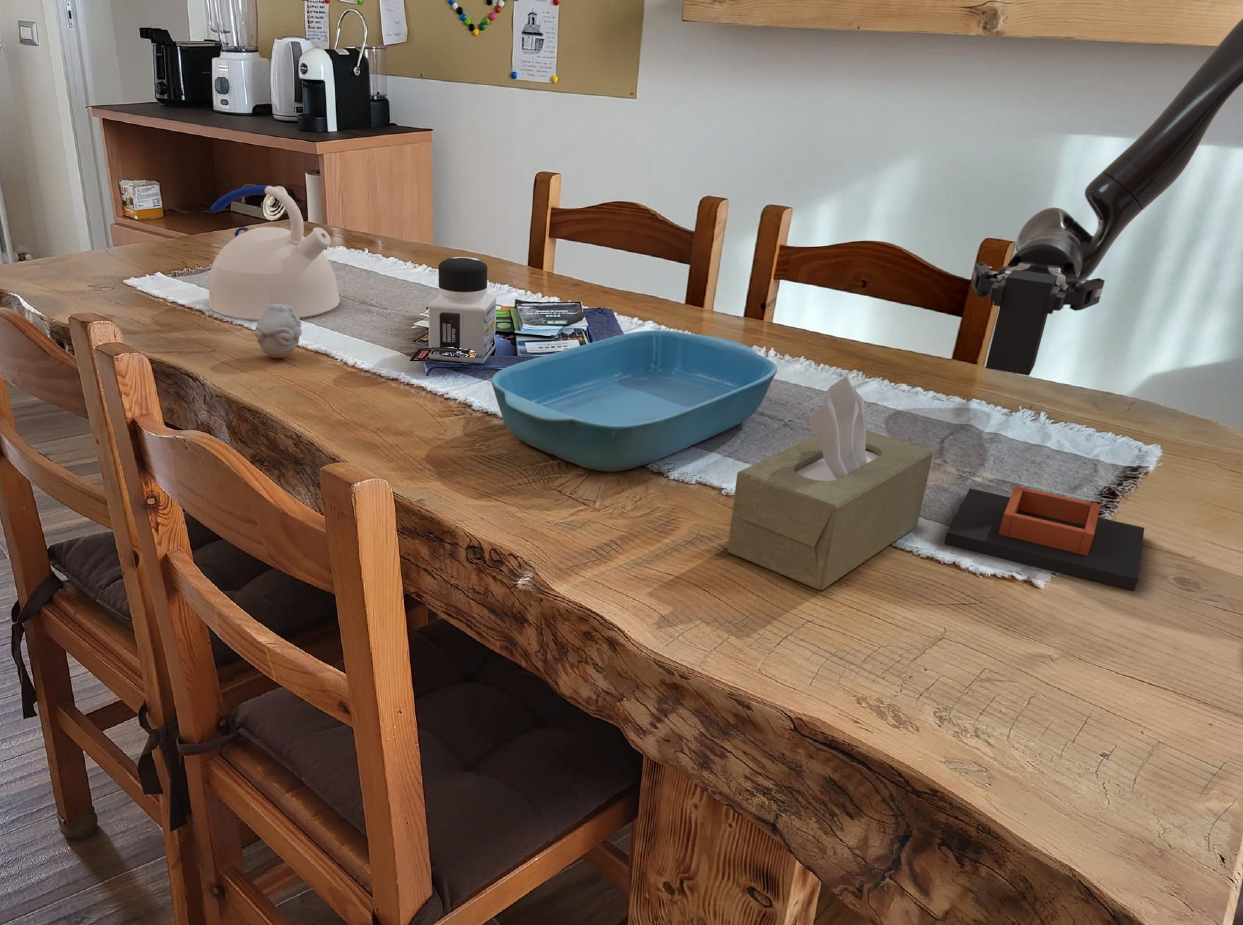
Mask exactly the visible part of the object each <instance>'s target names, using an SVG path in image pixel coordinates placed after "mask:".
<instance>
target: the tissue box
mask: <svg viewBox="0 0 1243 925" xmlns="http://www.w3.org/2000/svg"><path fill="white" fill-rule="evenodd" d="M824 399H825V401H826V402H825V403H824V404H822V405H821V406H820V407H819V408H817V409H816V410H815V411H813V412H811V413H810V414H808V415H807V416H806V419H807V423H808V425H809V427H810V429H811V431H812V432H813V434H814V435H813V436H810V437H809V438H806V439H804V440H802V441H799V442H798V443H796V444H793V445H791V446H789V447H787V448H785V449H783V450H781V451H779V452H777V453H775V454H772V455H771V456H768V457H766V458H765V459H763V460H760V461H758V462H756V463H754V464H752V465H749V466H748V467H746V468H744V469H741V470H740V471H738V472H737V474H736V480H735V489H734V495H733V504H732V510H731V511H732V512H731V519H730V527H729V534H728V542H727V552H728V553H729V554H731V555H733V556H736V557H738V558H741V559H742V560H743V559H744V560H745V561H748V562H750V563H753V564H755V565H758V566H760V567H762V568H765V569H766V570H770V571H772V572H774V573H777V574H779V575H781V576H784V577H786V578H788V579H791V580H793V581H797V582H799V583H801V584H803V585H806V586H808V587H810V588H813V589H815V590H818V591H823V590H824V589H826V588H827V587H829V586H831V585H832V584H833V583H834V582H837V581H838V580H839V579H841V578H842V577H844V576H845V575H848V573H849V572H851V571H852V570H854V569H856V568H857V567H858V566H860V565H861V564H863V563H864V562H866V561H867V560H869V559H870V558H872V557H873V556H875V555H876V554H878V553H879V552H881V551H882V550H884V549H885V548H887V547H888V546H890V545H891V544H893V543H894V542H895V541H897V540H899V539H900V538H901V537H903V536H904V535H906V534H907V533H909V532H910V531H912V530H914V529H915V528H916V527H917V526H918V523H919V519H920V514H921V510H922V507H923V506H922V505H923V503H924V502H923V501H924V497H925V493H926V488H927V483H928V478H929V474H930V471H931V465H932V461H933V456H934V451H933V450H932V449H931V448H927V447H924V446H921V445H917V444H914V443H910V442H908V441H907V442H906V441H904V440H900V439H897V438H894V437H890V436H887V435H885V434H881V433H877V432H874V431H871V430H867V429H866V420H865V418H866V417H865V400H864V398H863V396H861V395H860V393H859V392H858V391H857V390H856V389H855V387H853V384H852V382H851V380H850V377H849V375H848V374H847V375H845V376H844V377H842V378H841V379H839V380H837V381H836V382H835V383H834V384H832V385H831V386H830V387H828V389H827V391H826V392H825V394H824Z"/></svg>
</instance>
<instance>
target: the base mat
mask: <svg viewBox="0 0 1243 925" xmlns="http://www.w3.org/2000/svg"><path fill="white" fill-rule="evenodd" d="M1100 510H1101V504H1100V503H1096V502H1091V501H1086V500H1082V499H1078V498H1073V497H1069V496H1063V495H1060V494H1054V493H1050V492H1046V491H1041V490H1036V489H1032V488H1028V487H1023V486H1019V485H1015V486H1014V488H1013V491H1012V493H1011V495H1010V496H1005V495H1001V494H997V493H994V492H989V491H984V490H979V489H975V488H969V489H968V491H967V493H966V494H965V496H964V499H963V501H962V502H961V504H960V507H959V508H958V511H957V513H956V514H955V516H954V518H953V520H952V522H951V524H950V526H949V528H948V529H947V532H946V536H945V540H944V544H945V545H949V546H953V547H957V548H962V549H965V550H969V551H973V552H977V553H981V554H985V555H989V556H992V557H996V558H1000V559H1001V558H1002V559H1005V560H1009V561H1013V562H1017V563H1020V564H1025V565H1028V566H1033V567H1037V568H1041V569H1046V570H1049V571H1053V572H1056V573H1061V574H1065V575H1068V576H1073V577H1076V578H1077V577H1078V578H1081V579H1085V580H1088V581H1094V582H1096V583H1101V584H1104V585H1108V586H1109V585H1110V586H1113V587H1117V588H1120V589H1125V590H1128V591H1132V592H1134V591H1135V590H1136V587H1137V584H1138V582H1139V575H1140V569H1141V568H1140V567H1141V559H1142V551H1143V543H1144V534H1145V527H1143V526H1139V525H1134V524H1130V523H1126V522H1121V521H1117V520H1112V519H1108V518H1105V517H1103V518H1102V517H1099V514H1100Z"/></svg>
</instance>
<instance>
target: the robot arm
mask: <svg viewBox="0 0 1243 925" xmlns="http://www.w3.org/2000/svg"><path fill="white" fill-rule="evenodd" d="M1241 85H1243V18H1241V19H1240V20H1239V21H1238V22H1237V24H1236V25H1234V27H1233V28H1232V29H1231V30H1230V31H1229V32H1228V34H1227V35H1226V36H1225V37H1224V38H1223V39H1222V40H1221V42H1219V44H1218V45H1217V47H1216V48H1215V49H1214V50H1213V51H1212V52H1211V54H1210V55H1209V56H1208V58H1206V60H1204V62H1203V63H1202V64H1201V65H1200V67H1199V68H1198V69H1197V70H1196V72H1194V74H1193V75H1192V76H1191V78H1190V79H1189V80H1188V81H1187V82H1186V84H1184V86H1183V87H1182V88H1181V90H1180V91H1179V92H1178V93H1177V95H1175V97H1174V98H1173V100H1171V102H1170V103H1169V104H1168V105H1167V107H1166V108H1165V109H1164V110H1163V111H1162V112H1161V114H1160V115H1159V116H1158V117H1156V119H1155V120H1154V122H1153V123H1151V124H1150V126H1149V127H1147V129H1145V131H1144V132H1143V133H1141V135H1140V136H1138V137H1137V139H1136V140H1135V141H1134V142H1133V143H1132V144H1130V145H1129V147H1127V148H1126V149H1125V150H1124V151H1123V152H1122V153H1120V155H1119V156H1117V158H1115V159H1114V160H1113V161H1112V162H1111V163H1110V164H1109V165H1108V166H1107V167H1106V168H1105V169H1103V170H1102V171H1101V172H1100V173H1099V174H1097V176H1096V177H1095V178H1094V179H1093V180H1092V181H1090V182H1089V184H1088V185H1087V186H1086V188H1085V190H1084V197H1085V200H1086V201H1087V203H1088V205H1089V207H1090V208H1091V210H1092V211H1093V213H1094V214H1095V216H1096V220H1097V227H1096V230H1095V233H1094V234H1093V235H1092V234H1091V233H1090V232H1089V231H1087V229H1085V228H1084V226H1082V225H1081V224H1080V223H1079V222H1078V221H1077V220H1075V218H1074V217H1073V216H1072V215H1070V213H1068V212H1067V211H1066V210H1064V209H1063V208H1060V207H1048V208H1045V209H1042V210H1040V211H1038V212H1037V213H1035V214H1034V215H1033V216H1031V217H1030V218H1028V220H1027V221H1026V222H1025V223H1024V225H1023V226H1022V228H1021V229H1020V231H1019V233H1018V235H1017V238H1016V242H1015V251H1016V252H1015V253H1014V254H1013V256H1012V258H1011V259H1010V260H1009V262H1008V263H1007V265H1006V266H1005V265H1004V266H1002V267H1000V268H999V269H998V270H997V271H996V270H992V268H993V266H989V265H988V264H986V263H984V262H976V263H975V264H974V269H973V273H972V278H971V283H970V286H971V288H972V290H973V291H974V293H975V295H976V296H978V297H980V298H984V297H988V301H990V302H993V307H994V306H995V307H1000V306H1001V302H1002V298H1003V293H1004V289H1005V283H1006V279H1007V277H1008V275H1009V274H1010V273H1011V272H1012V270H1021V271H1028V272H1036V273H1043V274H1050V275H1057V276H1058V277H1057V280H1056V284H1055V286H1054V288H1053V289H1052V291H1051V292H1050V294H1049V298H1048V302H1047V306H1046V310H1045V313H1048V315H1053V313H1054V311H1056V312H1057V311H1058V312H1060V311H1061V310H1062V309H1064V306H1069V309H1070V310H1072V311H1075V312H1076V311H1077V312H1078V311H1082V310H1085V309H1087V308H1089V307H1093V306H1094V305H1097V304H1099V303H1100V300H1101V296H1102V293H1103V289H1104V286H1105V279H1102V278H1099V277H1096V278H1092V279H1088V278H1090V276H1092V275H1093V273H1094V272H1095V270H1096V269H1097V268H1098V267H1099V265H1100V263H1101V262H1102V260H1103V259H1104V257H1105V256H1106V255H1107V253H1108V251H1109V250H1110V248H1111V247H1112V246H1113V244H1114V243H1115V241H1116V240H1117V239H1118V237H1119V236H1120V235H1121V234H1122V232H1123V231H1124V230H1125V228H1127V226H1129V224H1130V223H1131V222H1132V221H1133V220H1134V219H1135V218H1136V217H1138V215H1139V214H1140V213H1141V212H1142V211H1144V210H1145V209H1146V208H1147V207H1148V206H1149V205H1151V204H1152V203H1153V202H1154V201H1155V200H1156V199H1157V198H1158V197H1160V196H1161V195H1162V194H1163V193H1164V192H1165V191H1166V190H1167V189H1168V188H1170V186H1172V185H1173V184H1174V183H1175V181H1176V180H1177V179H1178V178H1179V177H1180V176H1181V174H1182V173H1183V172H1184V171H1185V169H1186V168H1187V166H1188V165H1189V163H1190V161H1191V160H1192V158H1193V157H1194V154H1195V153H1196V151H1197V149H1198V148H1199V145H1200V143H1201V142H1202V140H1203V138H1204V136H1205V134H1206V132H1207V130H1208V129H1209V128H1210V125H1211V123H1212V122H1213V120H1214V119H1215V117H1216V116H1217V114H1218V113H1219V111H1220V110H1221V108H1222V107H1223V105H1224V104H1225V103H1226V102H1227V101H1228V99H1229V98H1230V97H1231V96H1232V95H1233V94H1234V93H1235V92H1236V90H1237V89H1238V88H1239V87H1240V86H1241ZM988 294H989V295H988Z"/></svg>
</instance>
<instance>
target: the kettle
mask: <svg viewBox="0 0 1243 925" xmlns="http://www.w3.org/2000/svg"><path fill="white" fill-rule="evenodd" d="M252 195H269V196H271V197H274V198H275V199H276V200H277V201H278V202H280V203H281V204H282V206H283V207H284V208H285V210H286V213H287V214H288V217H289V218H288V219H289V221H290V229H287V228H283V227H277V226H261V227H255V228H253V229H249V228H247V227H245V226H242V227H238V228H237V229H236V230H235V232H234V238H233V239H232V240H230V241H229V242H228V243H226V244H225V245H224V246H223V247H222V248H221V250H220V251H219V252H218V254H217V256H216V257H215V259H214V260H213V262H212V265H211V269H210V272H209V275H208V308H210V309H211V310H212V311H213V312H214V313H216V314H218V315H221V316H224V317H227V318H233V319H237V320H245V321H254V322H258V319H259V318H260V317H261V316H262V315H263V313H264V312H265V311H266V310H267V306H268V305H272V304H284V305H286V306H292V307H293V309H294V312H295V313H296V314H297V316H298V317H299V319H300V320H302V319H307V318H312V317H317V316H321V315H325V314H327V313H329V312H331V311H333V310H334V309H336V308H337V307H338V306H339V304H340V302H341V300H340V297H339V296H340V294H339V289H338V288H339V287H338V280H337V276H336V273H335V271H334V270H333V267H332V265H331V263H330V261H329V259H328V257H327V256H326V254H324V251H325V249H326V248H328V247H330V246H331V243H332V240H331V236H330V235H329V233H328V232H327V231H326V230H325V229H324V228H323V227H314V228H313V229H312V231H311V232H310V233H309V234H308V235H307V236H304V232H305V228H304V227H305V226H304V219H303V216H302V213H301V210H300V207H299V206H298V205H297V203H296V201H294V199H293V197H291V196H290V195H289V194H287V193H286V191H284V190H282V189H280V188H277V187H274V186H272V185H270V184H269V185H268V184H267V185H265V184H263V185H261V184H260V185H259V184H258V185H257V184H256V185H249V186H244V187H243V186H242V187H240V188H237V189H234V190H231V191H229V192H228V193H226V194H224V195H222V196H220V198H218V199H217V200H216V201H215V202H213V204H212V205H211V206H210V207H209V209H210V211H211V212H214V213H221V212H222V211H224V210H225V208H226V207H227V206H228V205H229V204H231V203H233V202H234V201H236V200H238V199H242V198H244V197H248V196H252ZM241 231H244V232H242V233H240V232H241Z"/></svg>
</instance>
